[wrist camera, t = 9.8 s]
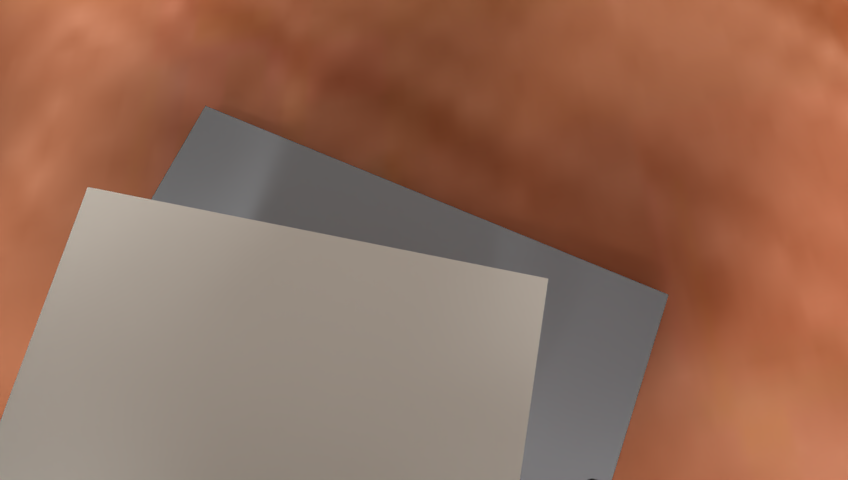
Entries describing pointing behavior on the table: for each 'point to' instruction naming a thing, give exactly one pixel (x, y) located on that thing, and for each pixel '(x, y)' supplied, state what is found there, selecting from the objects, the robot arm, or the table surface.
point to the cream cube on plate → (268, 356)
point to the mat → (458, 240)
